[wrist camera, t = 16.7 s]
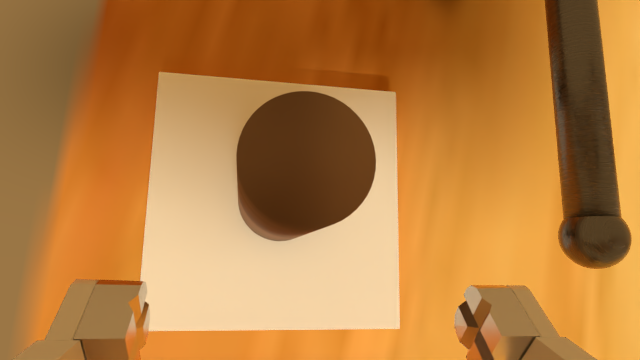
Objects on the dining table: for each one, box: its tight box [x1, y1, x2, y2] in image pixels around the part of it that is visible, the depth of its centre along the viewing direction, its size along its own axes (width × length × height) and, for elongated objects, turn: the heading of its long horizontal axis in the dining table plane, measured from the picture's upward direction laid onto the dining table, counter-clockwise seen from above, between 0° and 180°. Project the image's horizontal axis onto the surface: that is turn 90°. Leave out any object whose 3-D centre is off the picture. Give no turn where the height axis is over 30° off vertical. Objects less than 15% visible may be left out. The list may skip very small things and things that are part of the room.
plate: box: [140, 72, 400, 331], centre depth 22 cm, size 12×12×1 cm
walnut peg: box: [236, 91, 376, 241], centre depth 17 cm, size 4×4×9 cm
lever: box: [545, 0, 631, 269], centre depth 20 cm, size 2×18×10 cm, turn 179°
